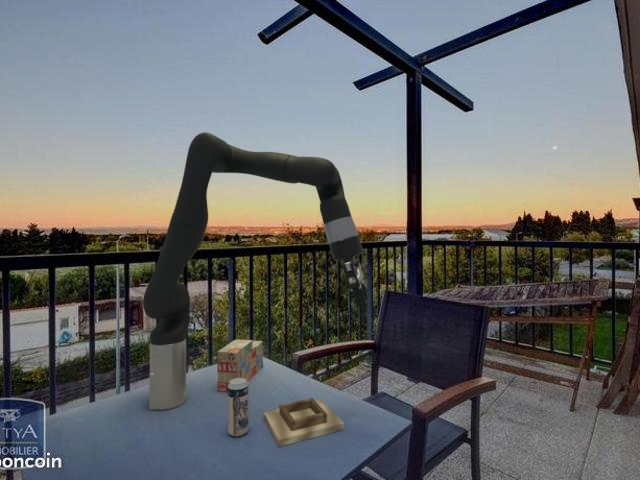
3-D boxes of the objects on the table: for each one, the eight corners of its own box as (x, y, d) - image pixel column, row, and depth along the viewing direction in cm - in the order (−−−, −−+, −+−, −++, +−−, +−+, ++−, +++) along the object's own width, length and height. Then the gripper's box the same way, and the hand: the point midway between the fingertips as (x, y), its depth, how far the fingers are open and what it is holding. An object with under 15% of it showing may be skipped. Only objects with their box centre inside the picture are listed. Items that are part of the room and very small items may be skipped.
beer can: (238, 440, 75) (237, 386, 75) (223, 434, 77) (223, 382, 78) (253, 430, 79) (252, 379, 79) (238, 424, 82) (238, 375, 82)
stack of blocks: (246, 365, 121) (246, 331, 121) (263, 367, 119) (263, 332, 119) (217, 392, 100) (217, 350, 100) (236, 393, 98) (236, 352, 98)
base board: (279, 446, 72) (279, 430, 72) (263, 418, 84) (263, 404, 84) (344, 429, 79) (344, 414, 79) (321, 405, 91) (321, 392, 91)
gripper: (333, 243, 89) (351, 303, 88) (323, 242, 75) (344, 312, 74) (360, 235, 88) (379, 295, 86) (355, 232, 74) (377, 303, 72)
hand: (362, 303), depth 80 cm, fingers open, 8 cm apart
